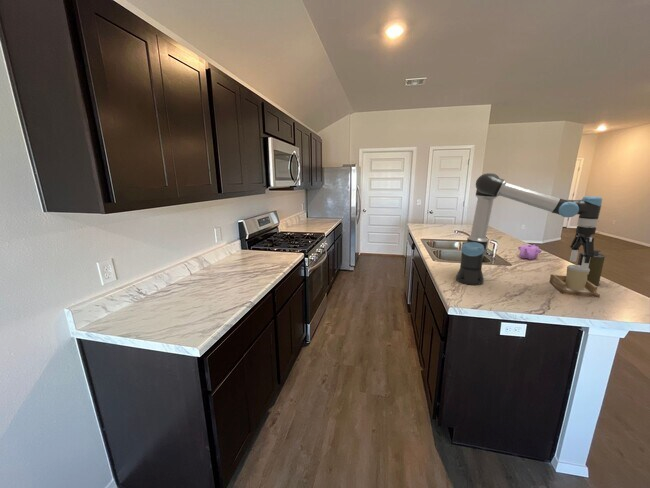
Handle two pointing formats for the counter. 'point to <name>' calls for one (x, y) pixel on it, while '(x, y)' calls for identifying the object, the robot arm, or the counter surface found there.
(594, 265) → the canister
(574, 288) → the coffee cup
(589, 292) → the dock
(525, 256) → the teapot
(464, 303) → the counter surface
